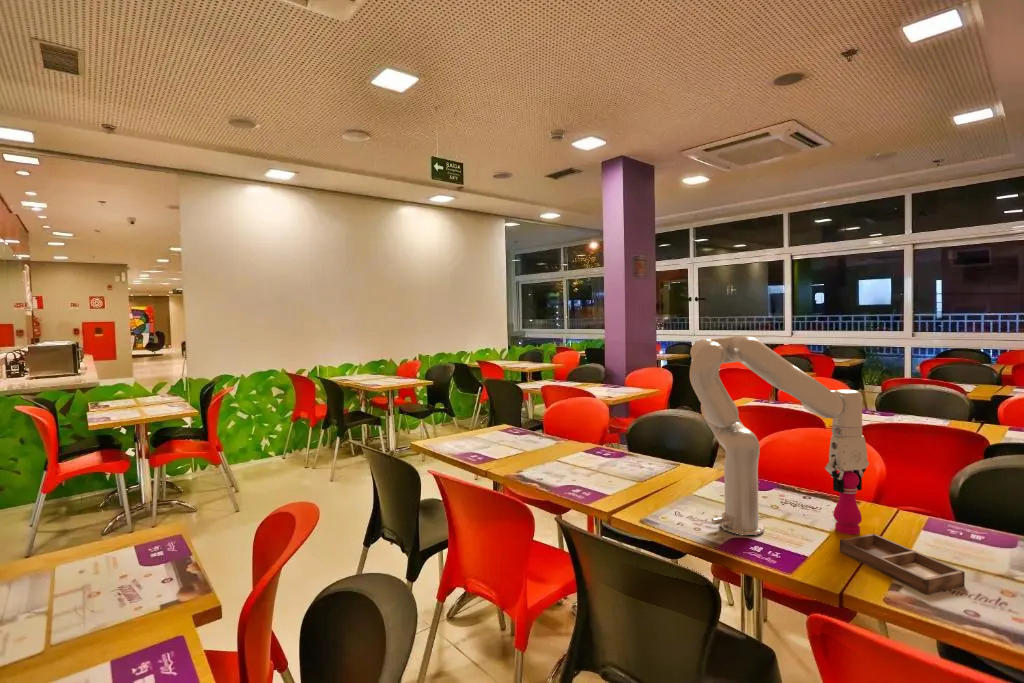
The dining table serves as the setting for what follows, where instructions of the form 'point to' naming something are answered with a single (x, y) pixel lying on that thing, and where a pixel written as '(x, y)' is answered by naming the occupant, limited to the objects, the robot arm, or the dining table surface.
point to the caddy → (903, 564)
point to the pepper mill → (848, 506)
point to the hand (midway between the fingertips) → (847, 489)
